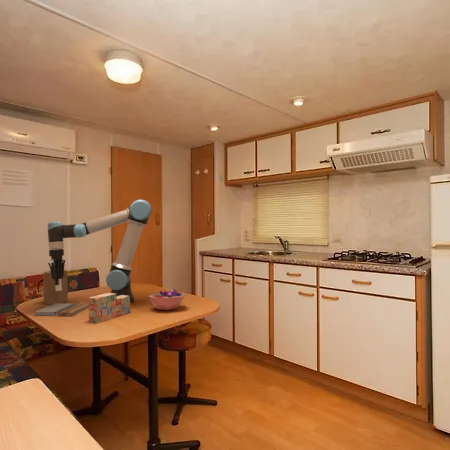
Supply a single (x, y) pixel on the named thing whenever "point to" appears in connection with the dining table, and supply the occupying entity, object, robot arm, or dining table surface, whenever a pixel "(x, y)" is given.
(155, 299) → the cell model
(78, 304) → the board
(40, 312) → the plank
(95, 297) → the stack of blocks
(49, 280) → the wooden block
